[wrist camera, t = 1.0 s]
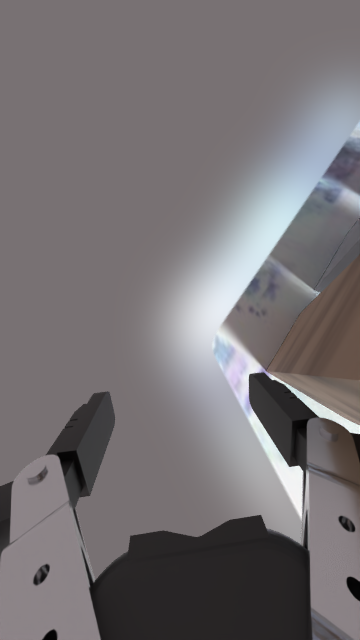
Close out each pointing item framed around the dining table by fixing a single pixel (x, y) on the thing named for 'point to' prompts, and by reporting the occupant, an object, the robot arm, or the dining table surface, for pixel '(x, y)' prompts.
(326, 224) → the dining table surface
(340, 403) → the walnut plinth
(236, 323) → the dining table surface
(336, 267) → the grey plinth
